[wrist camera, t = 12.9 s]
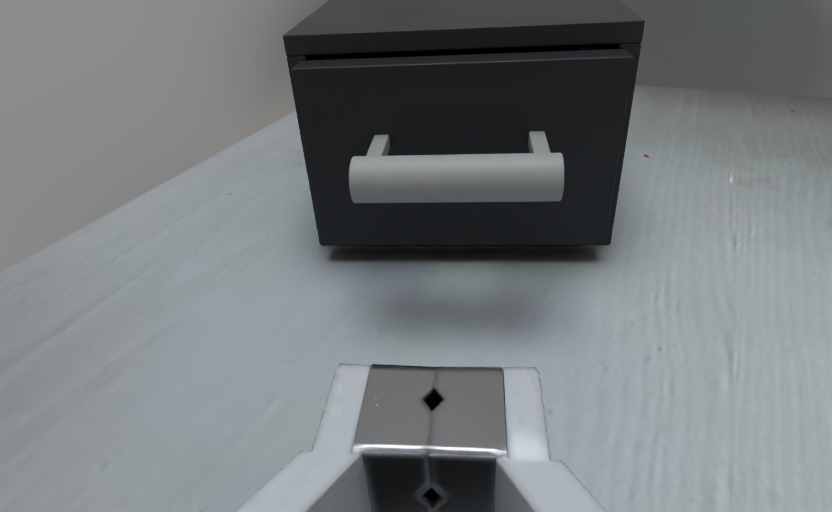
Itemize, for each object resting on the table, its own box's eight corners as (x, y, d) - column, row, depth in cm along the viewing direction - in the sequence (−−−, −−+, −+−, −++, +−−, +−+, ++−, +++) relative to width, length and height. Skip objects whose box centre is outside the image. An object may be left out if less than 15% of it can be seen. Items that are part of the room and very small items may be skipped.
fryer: (610, 244, 26) (645, 19, 20) (319, 244, 27) (282, 35, 22) (567, 129, 38) (582, -30, 33) (368, 134, 39) (352, -18, 34)
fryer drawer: (628, 308, 20) (669, 94, 16) (295, 304, 22) (252, 105, 17) (564, 131, 35) (577, -5, 31) (369, 135, 36) (355, 5, 32)
